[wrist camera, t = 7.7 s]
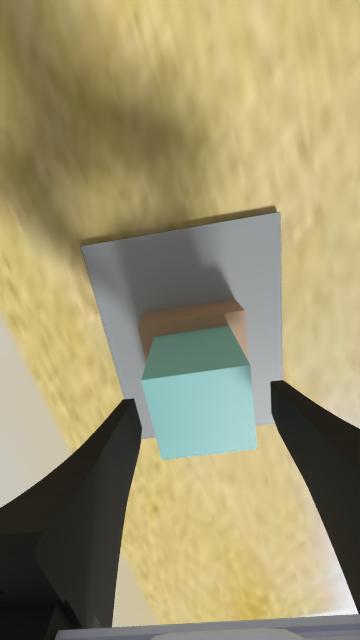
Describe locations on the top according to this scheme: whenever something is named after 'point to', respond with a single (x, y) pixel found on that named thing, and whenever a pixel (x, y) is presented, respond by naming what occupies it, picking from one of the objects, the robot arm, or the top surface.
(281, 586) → the top surface
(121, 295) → the build base
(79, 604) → the robot arm
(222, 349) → the teal block
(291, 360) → the top surface
